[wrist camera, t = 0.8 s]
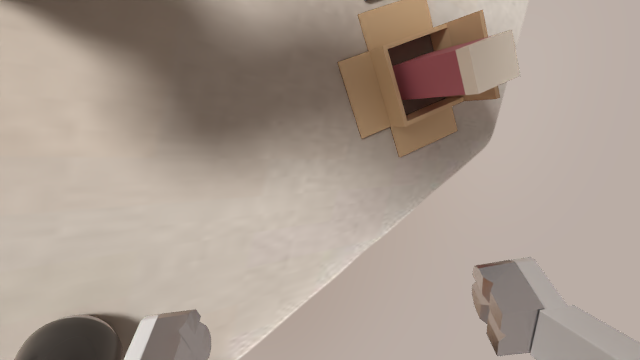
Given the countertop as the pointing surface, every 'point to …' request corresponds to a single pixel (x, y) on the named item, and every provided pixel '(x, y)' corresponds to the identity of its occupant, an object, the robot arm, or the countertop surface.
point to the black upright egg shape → (72, 341)
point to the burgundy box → (459, 69)
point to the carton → (379, 79)
